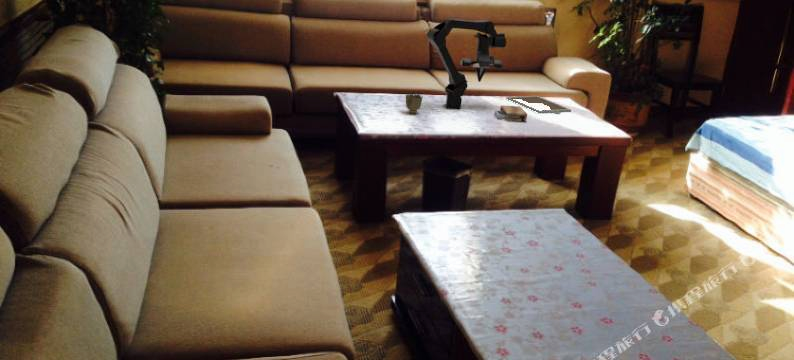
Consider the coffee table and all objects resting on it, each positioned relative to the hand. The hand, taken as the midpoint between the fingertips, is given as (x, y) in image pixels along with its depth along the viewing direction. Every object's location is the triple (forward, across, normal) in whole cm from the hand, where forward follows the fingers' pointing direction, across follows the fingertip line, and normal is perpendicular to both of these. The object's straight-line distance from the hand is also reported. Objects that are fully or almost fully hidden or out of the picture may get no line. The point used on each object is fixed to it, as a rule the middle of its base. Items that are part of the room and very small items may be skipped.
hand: (479, 81), depth 302 cm
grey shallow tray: (+12, +11, -17) cm, 23 cm away
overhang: (+12, +14, -17) cm, 25 cm away
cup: (+12, -32, -18) cm, 39 cm away
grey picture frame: (+13, +33, +8) cm, 36 cm away
